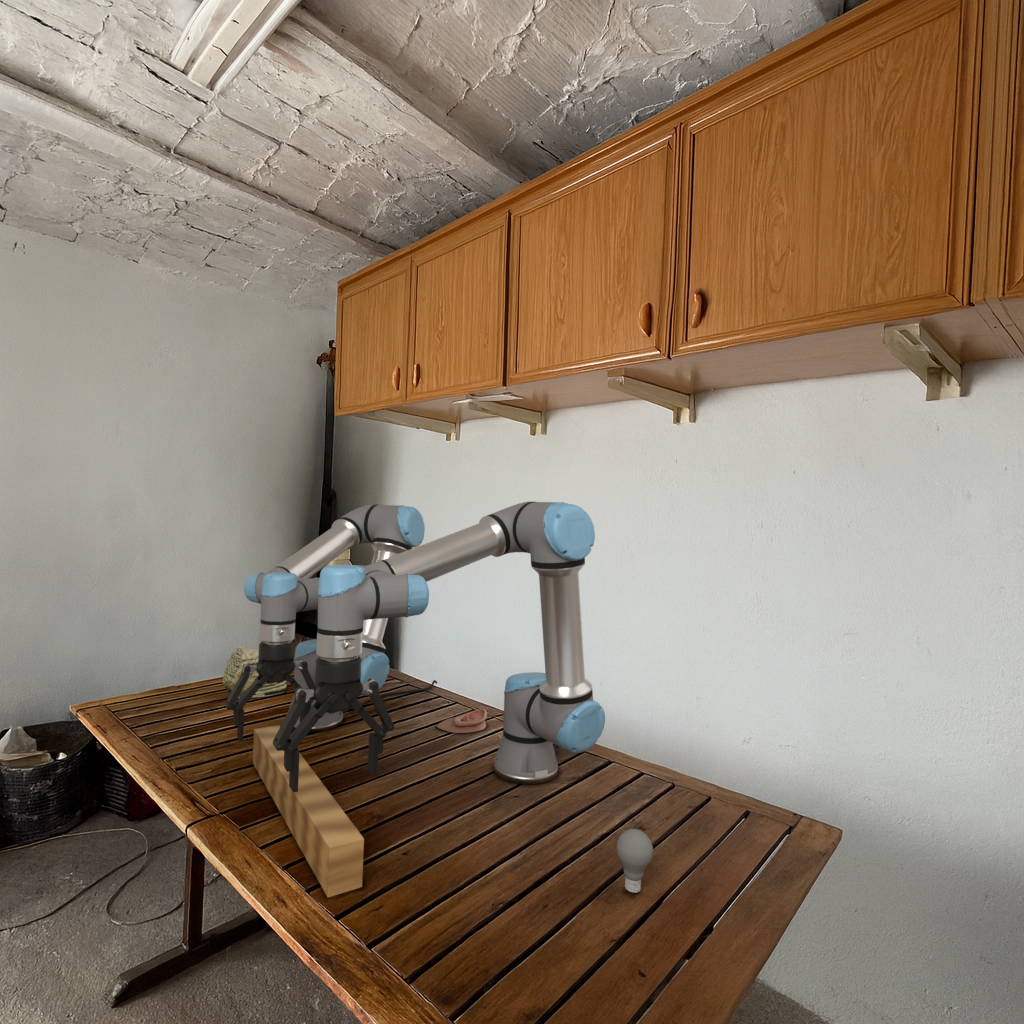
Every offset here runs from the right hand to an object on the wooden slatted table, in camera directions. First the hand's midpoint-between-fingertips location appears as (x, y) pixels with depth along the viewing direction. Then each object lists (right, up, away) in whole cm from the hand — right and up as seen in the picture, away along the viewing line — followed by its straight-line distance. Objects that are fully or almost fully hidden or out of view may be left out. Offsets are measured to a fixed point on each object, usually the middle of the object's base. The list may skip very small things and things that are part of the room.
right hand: (334, 780), depth 108 cm
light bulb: (+50, -18, -2) cm, 53 cm away
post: (-12, -14, +18) cm, 26 cm away
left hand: (-24, -5, +36) cm, 43 cm away
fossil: (-50, -11, +90) cm, 104 cm away
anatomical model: (+16, -15, +70) cm, 74 cm away
